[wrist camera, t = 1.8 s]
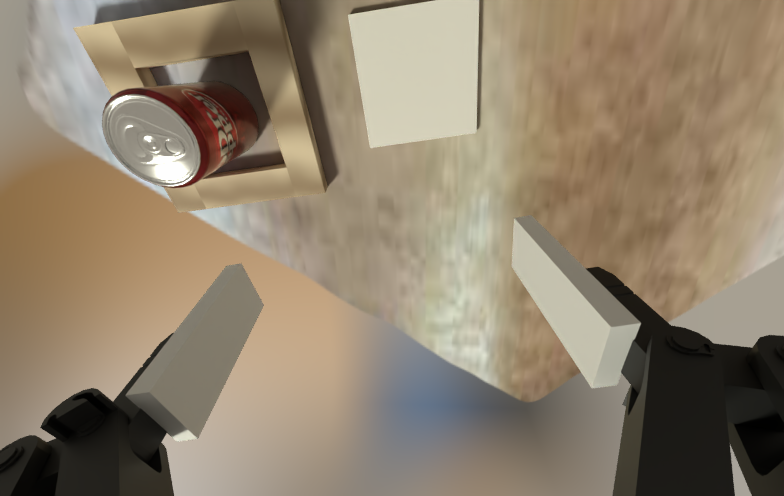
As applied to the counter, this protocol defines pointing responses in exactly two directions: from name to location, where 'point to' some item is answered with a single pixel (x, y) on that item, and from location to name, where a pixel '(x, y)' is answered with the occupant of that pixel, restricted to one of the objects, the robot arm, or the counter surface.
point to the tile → (418, 70)
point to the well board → (208, 40)
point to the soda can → (179, 130)
